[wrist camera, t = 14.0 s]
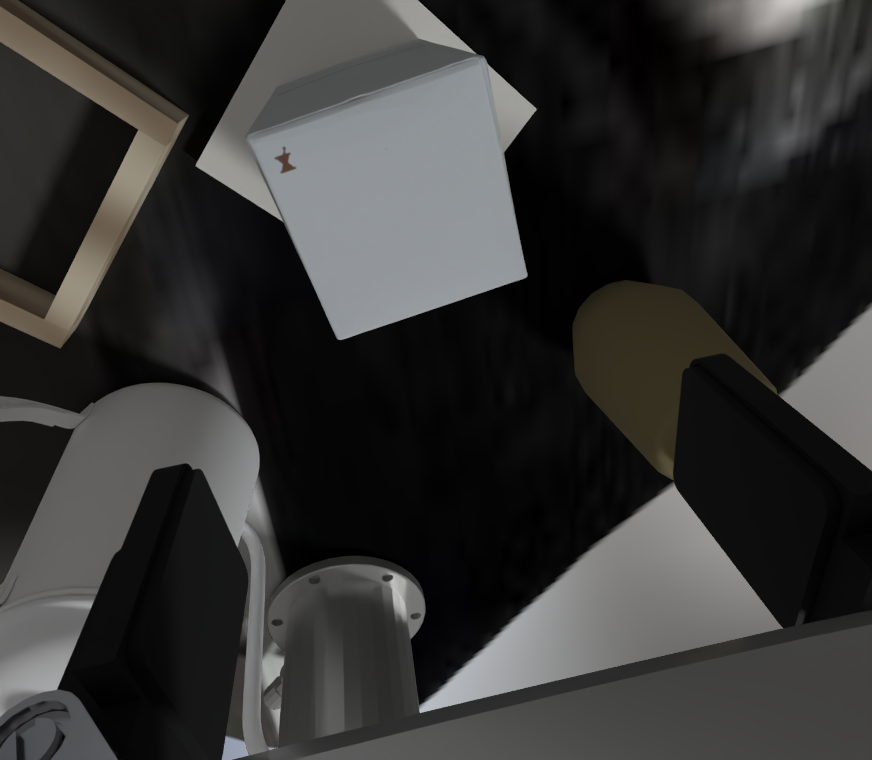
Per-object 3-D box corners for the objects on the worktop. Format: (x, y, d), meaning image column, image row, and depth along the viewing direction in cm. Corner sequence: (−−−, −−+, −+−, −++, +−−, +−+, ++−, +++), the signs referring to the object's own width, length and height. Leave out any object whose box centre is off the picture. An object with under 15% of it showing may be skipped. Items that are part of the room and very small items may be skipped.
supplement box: (330, 233, 31) (330, 348, 20) (272, 83, 27) (234, 129, 16) (463, 190, 31) (532, 283, 20) (425, 33, 27) (486, 47, 16)
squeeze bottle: (690, 260, 36) (948, 439, 21) (658, 373, 40) (853, 589, 25) (564, 262, 35) (742, 452, 20) (545, 378, 39) (679, 607, 24)
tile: (395, 288, 34) (397, 294, 33) (198, 162, 29) (195, 165, 28) (532, 107, 30) (536, 109, 29) (330, -78, 25) (330, -80, 24)
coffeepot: (268, 580, 45) (235, 884, 30) (-72, 385, 33) (-440, 726, 17) (373, 503, 43) (398, 790, 27) (46, 260, 30) (-260, 526, 15)
